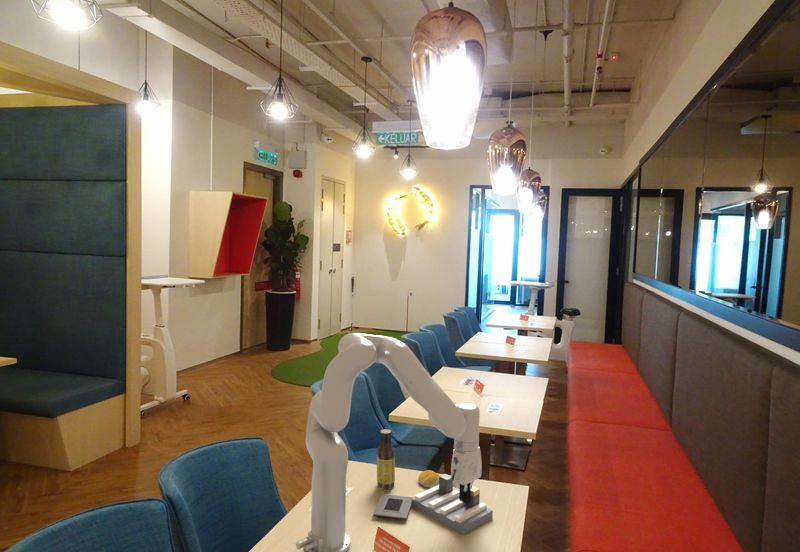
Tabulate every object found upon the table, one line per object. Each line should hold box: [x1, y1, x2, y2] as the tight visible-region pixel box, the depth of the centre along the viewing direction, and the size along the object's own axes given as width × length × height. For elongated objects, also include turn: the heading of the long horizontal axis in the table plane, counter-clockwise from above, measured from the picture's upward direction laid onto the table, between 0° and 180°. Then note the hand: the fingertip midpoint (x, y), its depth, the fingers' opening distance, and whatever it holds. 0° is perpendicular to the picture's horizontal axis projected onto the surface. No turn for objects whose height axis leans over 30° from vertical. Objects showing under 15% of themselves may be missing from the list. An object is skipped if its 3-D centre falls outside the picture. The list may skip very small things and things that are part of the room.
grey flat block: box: [372, 493, 414, 520], centre depth 169 cm, size 13×10×2 cm
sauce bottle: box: [376, 429, 396, 490], centre depth 184 cm, size 6×6×20 cm
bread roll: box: [417, 469, 441, 489], centre depth 188 cm, size 8×9×4 cm
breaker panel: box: [411, 485, 494, 536], centre depth 168 cm, size 14×22×4 cm, turn 43°
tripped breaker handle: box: [465, 485, 481, 508], centre depth 167 cm, size 3×4×6 cm
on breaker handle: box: [439, 473, 454, 495], centre depth 175 cm, size 3×4×6 cm
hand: (464, 501), depth 164 cm, fingers closed
